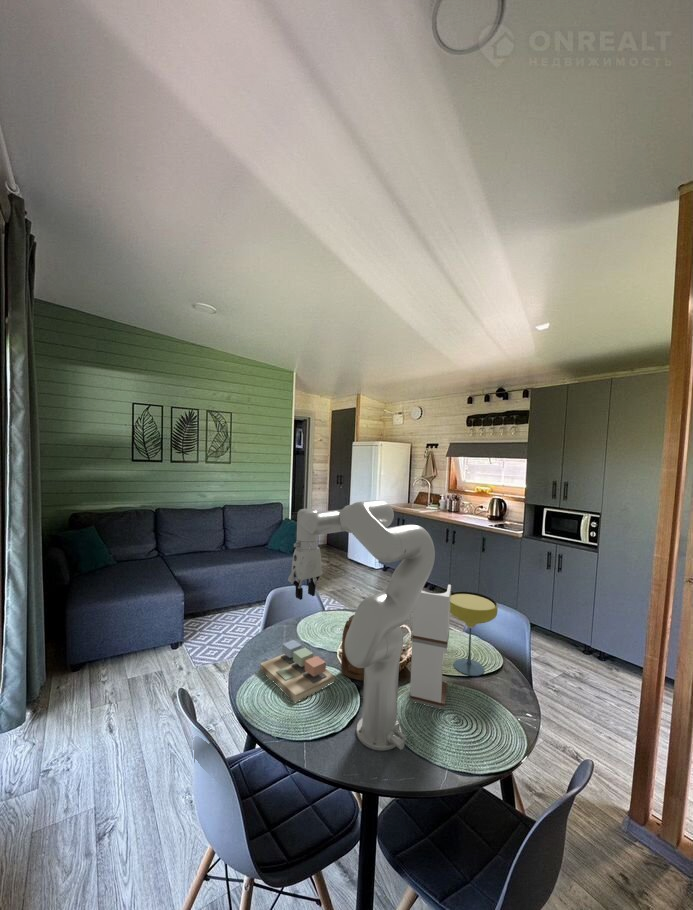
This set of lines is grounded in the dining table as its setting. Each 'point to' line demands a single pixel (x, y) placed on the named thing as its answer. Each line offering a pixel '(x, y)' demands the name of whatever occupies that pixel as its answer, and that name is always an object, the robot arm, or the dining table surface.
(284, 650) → the grey square block
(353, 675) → the dark brown curved piece
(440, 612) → the white square pillar
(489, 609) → the cocktail glass
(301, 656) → the sage button
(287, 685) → the wooden sorting board
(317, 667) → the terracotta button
